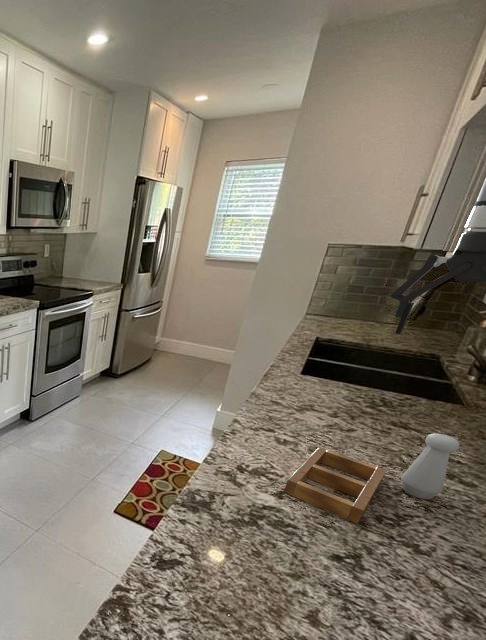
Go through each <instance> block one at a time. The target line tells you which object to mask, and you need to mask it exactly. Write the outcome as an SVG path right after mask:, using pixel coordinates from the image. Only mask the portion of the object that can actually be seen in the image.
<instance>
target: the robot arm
mask: <svg viewBox="0 0 486 640" xmlns="http://www.w3.org/2000/svg"><path fill="white" fill-rule="evenodd" d="M475 201H476V202H475V204H474V206H473V208H472V210H471V212H470V215H469V216H468V219H467V221H466V224H465V225H464V228H465V229H468V230H466V231H464V232H463V233H461V235H460V238H459V240H458V242H457V244H456V247H455V249H454V251H453V253H452V255H451V256H449V257H446V256H439V255H437V254H433V255H430V256H429V257H428V258H427V259H426V262H425V263H424V265H423V266H422V267H421V268H420V269H418V270H417V271H416V272H415V273H414V274H413V275H412V276H410V277H409V278H408V279H407V280H406V281H405V282H404V283H402V284H401V285H400V286H399V287H398V288H397V289H395V290H394V291H393V292H392V293H391V295H390V297H391V299H395V300H397V301H399V304H398V307H397V309H396V312H395V315H394V316H395V318H400V321H399V322H398V325H397V328H396V329H395V333H394V334H395V335H396V334H397V335H401V334H402V333H403V331H404V328H405V326H406V324H407V322H408V318H409V316H410V314H411V311H412V309H413V307H414V304H415V303H414V302H410V301H413V300H414V299H415V298H418V297H419V296H421V295H423V294H425V293H426V292H428V291H430V290H432V289H434V288H436V287H437V286H440V285H441V284H443V283H445V282H447V281H448V280H451V279H452V278H453V279H455V280H456V281H459V282H474V283H480V284H482V283H486V178H485V180H484V181H483V184H482V186H481V189H480V191H479V194H478V196H477V199H476V200H475ZM442 264H445V265H446V266H447V269H448V270H449V271H448V272H446V273H445V274H443V275H441V276H439V277H437V278H436V279H434V280H432V281H430V282H429V283H427V284H424V285H423V286H421V287H419V288H418V289H416V290H414V291H412V292H410V293H408V294H404V293H405V292H407V291H408V290H409V289H410V288H411V287H412V286H414V285H415V284H416V283H417V282H418V281H419V280H420V279H422V278H423V277H425V275H426V274H427V273H429V272H430V271H431V270H432V269H433V268H437V267H440V266H441V265H442Z"/></svg>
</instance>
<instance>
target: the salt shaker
mask: <svg viewBox="0 0 486 640" xmlns="http://www.w3.org/2000/svg"><path fill="white" fill-rule="evenodd" d="M424 441H425V444H426V445H427V446H425V448H424V449H423V450H422V452H420V453H419V455H418V456H416V457H417V458H415V460H414V461H413V462H412V463H411V465H409V466H408V467H407V469H406V470H405V471H404V473H403V474H401V477H400V478H401V479H400V480H401V487H402V489H403V491H404V492H405V493H406V494H408V495H410V496H413V497H415V498H417V499H422V500H431V499H433V498H434V497H436V496H437V495H439V494H441V493H442V492H443V491H444V486H445V480H446V477H447V476H446V475H447V470H448V465H449V458H450V453H455V452H457V451H458V449H459V448H460V442H459V440H458V439H456V438H455V437H452V436H450V435H446V434H442V433H430V434H428V435H427V436H426V438H425V440H424Z"/></svg>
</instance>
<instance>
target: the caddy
mask: <svg viewBox="0 0 486 640" xmlns="http://www.w3.org/2000/svg"><path fill="white" fill-rule="evenodd" d="M321 464H323V465H325V466H328V467H331V468H334V469H337V470H340V471H343V472H345V473H348V474H350V475H353V476H356V477H358V478H361V479H365V480H367V482H364V481H361V480H358V479H355V478H353V477H350V476H348V475H345V474H342V473H340V472H337V471H334V470H331V469H329V468H326V467H324V466H320V465H321ZM386 472H387V469H385V468H383V467H380V466H377V465H374V464H371V463H368V462H365V461H362V460H359V459H356V458H353V457H351V456H347V455H344V454H341V453H339V452H336V451H333V450H330V449H327V448H324V447H321V446H318V448H317V449H316V450H315V451H314V452H313V453H312V454H311V455H310V456H309V457H308V458H307V459H306V460H305V461H304V462H303V463H302V465H300V466H299V467H298V468H297V469H296V471H294V473H293V474H292V475H291V476H290V477H289V478H288V479H287V481H286V484H285V487H284V489H283V493H284V492H285V493H284V494H287V495H290V496H291V497H294V498H296V499H298V500H300V501H303V502H305V503H307V504H309V505H312V506H315V507H316V508H319V509H321V510H324V511H326V512H329V513H331V514H334V515H336V516H338V517H341V518H342V519H344V520H347V521H349V522H351V523H354V524H356V525H358V524H359V522H360V520H361V518H362V517H363V515H364V513H365V511H366V510H367V508H368V506H369V504H370V503H371V501H372V499H373V498H374V496H375V494H376V492H377V490H378V489H379V487H380V485H381V483H382V482H383V479H384V477H385V475H386ZM307 480H310V481H311V480H312V481H314V482H316V483H318V484H321V485H324V486H326V487H329V488H332V489H334V490H336V491H339V492H341V493H343V494H347V495H348V496H352V497H354V498H357V499H356V500H355V501H350V500H348V499H346V498H343V497H340V496H338V495H336V494H333V493H331V492H328V491H325V490H323V489H320V488H318V487H316V486H313V485H311V484H308V483H306V481H307Z"/></svg>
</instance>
